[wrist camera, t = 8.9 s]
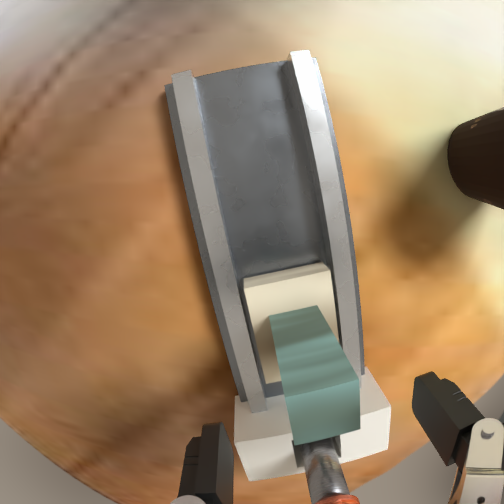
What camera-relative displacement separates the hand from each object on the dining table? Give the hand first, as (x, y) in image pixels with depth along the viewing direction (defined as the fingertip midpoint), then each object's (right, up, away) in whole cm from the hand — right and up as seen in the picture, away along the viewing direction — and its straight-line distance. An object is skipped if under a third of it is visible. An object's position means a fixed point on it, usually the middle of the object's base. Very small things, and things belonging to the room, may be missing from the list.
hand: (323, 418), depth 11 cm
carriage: (0, +2, +10) cm, 10 cm away
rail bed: (-1, +6, +11) cm, 12 cm away
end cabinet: (+2, -6, +13) cm, 15 cm away
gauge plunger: (+2, -7, +11) cm, 13 cm away
